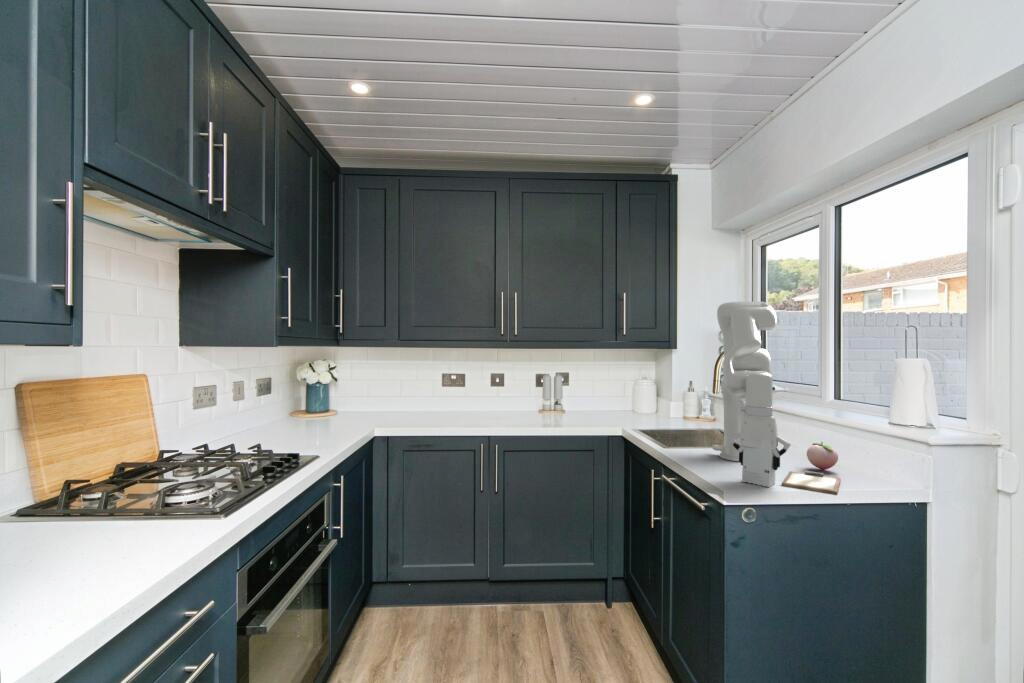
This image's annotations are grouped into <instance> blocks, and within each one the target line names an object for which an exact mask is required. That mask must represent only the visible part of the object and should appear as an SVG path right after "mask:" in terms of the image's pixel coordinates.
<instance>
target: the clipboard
mask: <svg viewBox="0 0 1024 683" xmlns="http://www.w3.org/2000/svg"><path fill="white" fill-rule="evenodd" d="M824 475H825V474H824V472H818V471H817V472H816V471H809V470H805V471H804V473H803V472H797V471H791V470H790V471H789V472H788V473H787V475H786V476H785V477H784V479H783V480H782V482H781V486H782V485H783V486H784V487H788V486H789V488H794V487H795V489H801V490H802V489H803V490H807V491H813V492H820V493H826V494H831V495H838V492H839V489H838V488H840V485H841V478H837V477H831V476H824ZM783 486H782V487H783Z"/></svg>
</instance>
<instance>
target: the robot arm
mask: <svg viewBox="0 0 1024 683" xmlns="http://www.w3.org/2000/svg"><path fill="white" fill-rule="evenodd" d="M716 317H717V322H718V326H719V329H720V331H721V334H722V336H723V357H724V360H723V365H722V371H723V379H722V381H721V384H720V389H721V396H722V401H723V403H722V404H723V444H721V445H719V444H712V450H713V451H720V453H719V457H720V458H721V459H724V460H727V461H733V462H739V463H740V466H743V447H747V448H760V446H761V440H762V439H769V440H771V442H773V443H771V450H773V453H774V455H775V456H774V470H775V471H777V470H778V469H779V468H781V456H783V455H784V454H785V453H786V452H787V451H788V450H789V448H790V447H791V443H790V442H788V441H786V439H783V438H782V437H780V436H779V435H778V427H777V422H776V421H777V420H776V418H775V416H773V414H774V413H773V376H772V374H773V373H772V358H771V356H770V355H771V354H770V353H769V351H768V350H766V349H765V348H763V347H762V340H761V334H760V331H771V330H773V329H775V327H776V325H777V314H776V311H775V309H774V308H773V307H772V306H771V305H770V304H768V302H765V301H731V302H730V301H729V302H725V303H721V304H720V305H719V306H718V307H717V311H716ZM761 347H762V348H761ZM759 439H761V440H759ZM758 441H760V442H758ZM779 444H781V445H783V447H782V448H781V450H779V448H778V447H779V446H778V445H779Z"/></svg>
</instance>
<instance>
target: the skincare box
mask: <svg viewBox="0 0 1024 683" xmlns="http://www.w3.org/2000/svg"><path fill="white" fill-rule="evenodd" d="M759 440H761V439H759ZM758 442H760V441H758ZM771 443H773V442H771V440H769V439H762V440H761V446H760V448H747V447H743V465H742V471H741V472H742V473H741V474H742V475H741V476H742V477H741V480H742V483H745V482H748V483H747V484H750V483H753V484H752V485H755V484H757V486H761V485H762V486H761V487H765V486H766V487H765V488H770V487H772V486H774V485H775V484H776V470H774V456H775V455H774V453H773V450H771ZM773 484H774V485H773Z"/></svg>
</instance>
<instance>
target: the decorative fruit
mask: <svg viewBox="0 0 1024 683" xmlns="http://www.w3.org/2000/svg"><path fill="white" fill-rule="evenodd" d="M806 457H807V459H808V461H809V463H810V464H811V465H812V466H814V467H815V468H817V469H819V470H821V471H826V470H828V469H831V468H833V467H834V466H836V464H837V463H838V461H839V454H838V453H837V451H836V449H834V448H833V447H831V446H830V445H823V441H821V442H820V443H819V442H814V443H812V445H811V446H809V447H808V449H807V450H806Z"/></svg>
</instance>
